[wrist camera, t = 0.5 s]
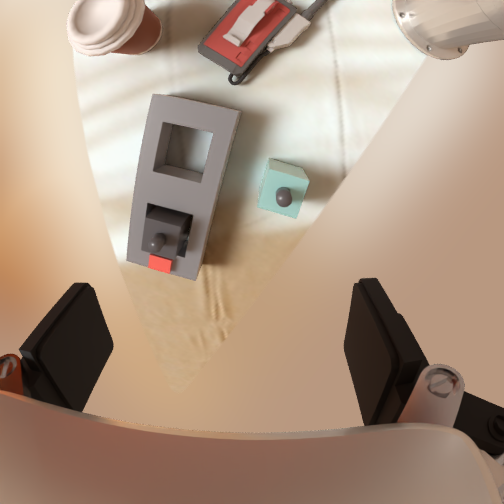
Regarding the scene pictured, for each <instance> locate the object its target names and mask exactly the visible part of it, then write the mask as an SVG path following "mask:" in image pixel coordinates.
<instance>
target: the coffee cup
mask: <svg viewBox="0 0 504 504" xmlns="http://www.w3.org/2000/svg"><path fill="white" fill-rule="evenodd" d="M66 25H67V32H68V39H69V42H70V43H71V45H72V46H73V48H74V49H75V50H76V51H77V52H79V53H82V54H84V55H87V56H100V55H106V54H108V53H110V52H111V53H121V54H129V55H141V54H143V53H146V52H148V51H149V50H151V49H152V48H153V47H154V46H155V45H156V44H157V43H158V41H159V39H160V38H161V35H162V30H163V27H162V23H161V20H160V19H159V18H158V17H157V16H156V15H155V14H154V13H153V12H152V11H151V10H150V9H149V8H148V7H147V6H146V5H145V2H144V0H76V2H75V3H74V5H73V7H72V8H71V10H70V12H69V15H68V19H67V23H66Z"/></svg>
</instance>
